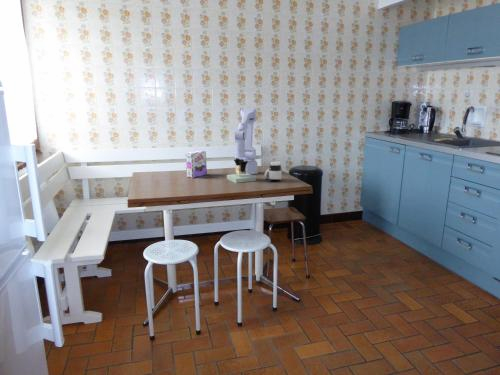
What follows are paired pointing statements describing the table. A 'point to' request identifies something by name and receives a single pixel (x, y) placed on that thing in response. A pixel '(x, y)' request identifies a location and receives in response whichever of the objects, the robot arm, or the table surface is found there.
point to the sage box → (241, 177)
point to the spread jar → (274, 172)
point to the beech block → (239, 170)
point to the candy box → (196, 164)
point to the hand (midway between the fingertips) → (241, 170)
